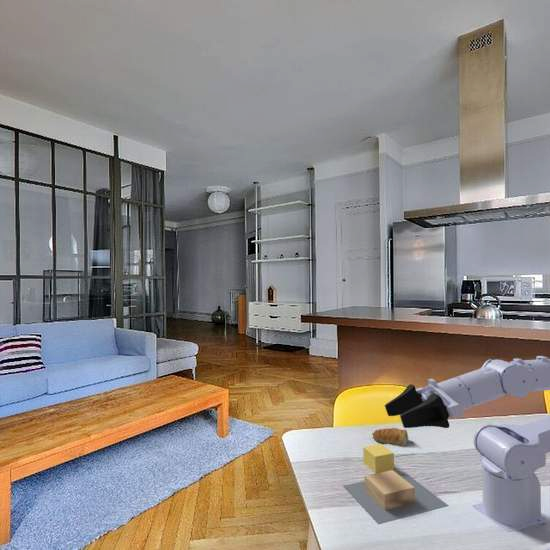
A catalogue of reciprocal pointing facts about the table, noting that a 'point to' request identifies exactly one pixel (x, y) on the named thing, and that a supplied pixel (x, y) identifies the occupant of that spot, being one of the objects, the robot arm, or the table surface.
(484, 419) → the table surface
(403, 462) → the table surface
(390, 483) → the oak block
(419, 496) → the board
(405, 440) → the pastry
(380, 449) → the yellow block
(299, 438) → the table surface
